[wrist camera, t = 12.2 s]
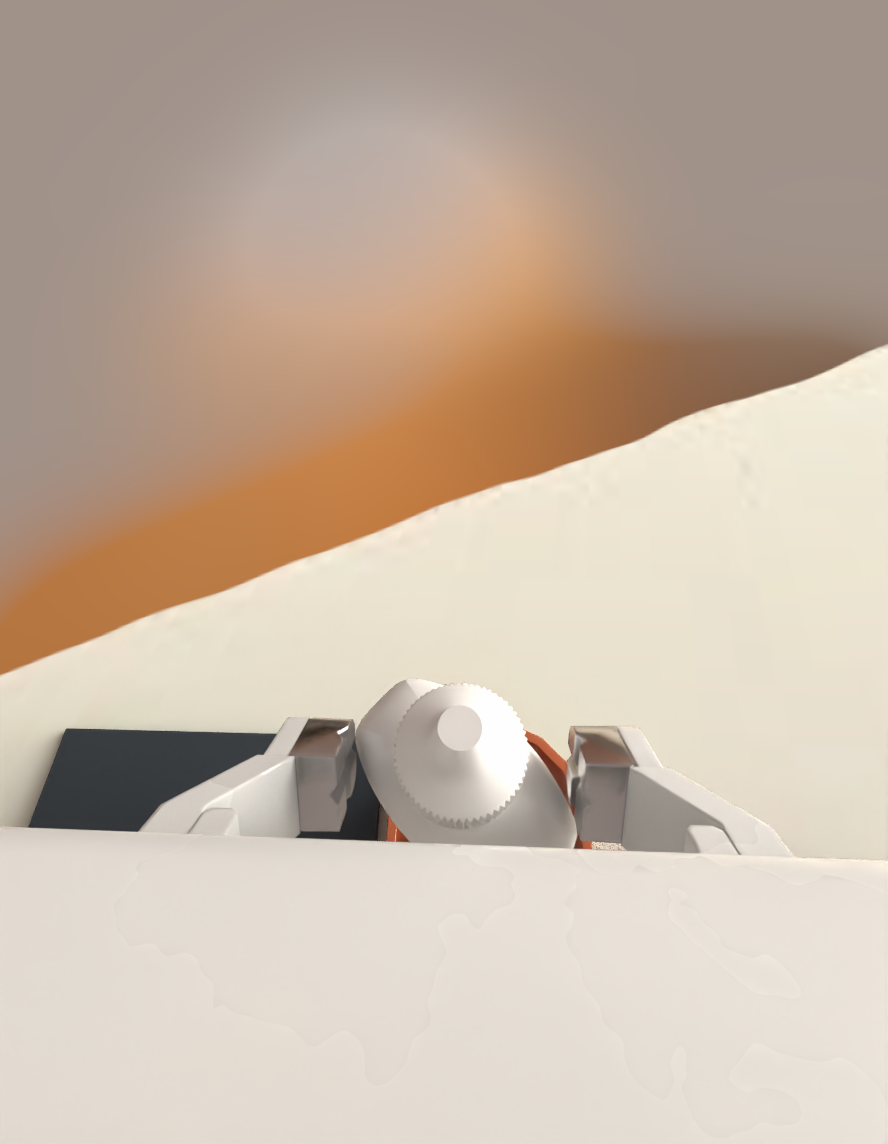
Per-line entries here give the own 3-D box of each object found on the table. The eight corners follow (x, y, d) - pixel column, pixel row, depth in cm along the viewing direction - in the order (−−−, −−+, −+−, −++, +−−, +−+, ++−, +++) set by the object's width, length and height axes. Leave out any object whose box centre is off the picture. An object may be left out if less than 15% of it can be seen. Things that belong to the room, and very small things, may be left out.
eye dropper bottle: (426, 931, 17) (368, 1005, 6) (380, 757, 20) (287, 615, 9) (552, 880, 17) (684, 874, 7) (490, 718, 20) (520, 543, 10)
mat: (-20, 965, 27) (-26, 966, 27) (70, 729, 33) (65, 728, 33) (364, 984, 26) (362, 985, 26) (385, 738, 32) (384, 736, 32)
